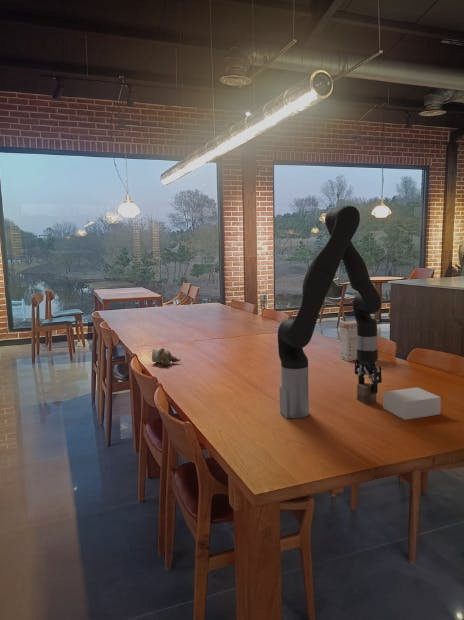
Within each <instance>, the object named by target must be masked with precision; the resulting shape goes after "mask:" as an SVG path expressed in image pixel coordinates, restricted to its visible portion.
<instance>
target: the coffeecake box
mask: <svg viewBox="0 0 464 620" xmlns="http://www.w3.org/2000/svg"><path fill="white" fill-rule="evenodd" d="M339 323H340V324H339V330H340V331H339V332H340V333H339V335H340V339H339V340H340V342H339V343H340V359H341V358H342V359H344V360H343V361H345V360H346V362H347V361H348V362H353V360H355V359H357V322H356V319H355V320H344V321H340V322H339ZM342 359H341V360H342Z"/></svg>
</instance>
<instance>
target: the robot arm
mask: <svg viewBox="0 0 464 620" xmlns="http://www.w3.org/2000/svg"><path fill="white" fill-rule="evenodd" d="M360 221H361V215H360V211H359V210H358V209H357V207H355V206H353V205H344V206H337V207H332V208H331V209H329V210H328V211H327V212H326V214H325V218H324V222H325V226H326V229H327V231H328V234H329V235H330V237H329V239H328V241H327V242H326V243H325V245H324V246H323V248H322V249H321V250H320V251H319V252H318V253H316V256H314V258H313V259H312V261H311V262H310V264H309V266H308V268H307V271H306V273H305V276H304V277H303V283H302V294H301V295H302V298H301V299H302V300H301V304H300V307H299V309H298V312H297V314H296V317H295V318H287V319H284V320H283V321H282V322H281V323H280V324H279V326H278V330H277V345H278V346H277V348H278V357H279V360H280V369H281V372H280V373H281V375H280V377H281V386H279V413H280V414H281V415H282V416H283V417H285V419H303V418H306V417H308V416H309V414H310V405H309V404H310V403H309V401H310V400H309V398H310V397H309V396H310V395H309V393H310V392H309V390H310V389H309V359H308V356H307V355H306V353H305V351H304V349H303V348H305V347H306V346H308V345H309V343H310V342H311V340H312V337H313V335H314V332H315V328H316V325H317V321H318V318H319V315H320V312H321V310H322V307H323V305H324V302H325V300H326V297H327V294H328V292H329V291H330V288H331V286H332V284H333V281H334V280H335V276H336V274H337V271H338V269H339V267H340V264H341V263H343V265H344V268H345V271H346V275H347V277H348V281H349V284H350V286H351V288H352V289H353V290H355V291H357V292H358V293H357V294H355V296H354V297H353V298H352V299H353V300H352V310H353V314H354V319H355V320H356V322H357V359H355V361H354V374H355V375H356V377H357V379H358V383H357V384H365V383H366V382H365V380H366V379H365V375H366V376H367V379H369V381H370V384H371V393H372V394H376V393H377V394H378V391H379V390H378V384H382V383H383V382H382V381H383V380H382V377H383V376H382V367H381V366H377V365H376V361H379V341H378V322H377V321H376V319H374V318H372V317H371V314H376V313H378V312H379V311H380V310H381V306H382V299H381V296H380V294H379V292H378V290H377V289H376V287H375V285H374V283H373V282H372V280H371V277H370V275H369V272H368V268H367V265H366V262H365V260H364V258H363V257H362V256H361V254H360V253H359V251H358V250H357V248H356V247H355V245H354V244H353V242H352V239H353V237H354V236H355V233H356V231H357V230H358V228H359V226H360ZM377 394H376V395H377Z"/></svg>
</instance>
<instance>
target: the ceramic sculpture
mask: <svg viewBox="0 0 464 620" xmlns="http://www.w3.org/2000/svg"><path fill="white" fill-rule="evenodd" d="M151 361H152V363H153V362H159V363H158V364H160V363H161V364H160V365H162V366H164V365H166V366H169V364H170V363H177V362H180V361H181V359H179V358H177V357H176V356H173V354H172V353H171V352H170V351H168V350H165V348H160V349H158V350H157V349H154V348H153V349H152V355H151ZM171 361H172V362H171ZM168 363H169V364H168Z"/></svg>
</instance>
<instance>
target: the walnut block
mask: <svg viewBox="0 0 464 620" xmlns="http://www.w3.org/2000/svg"><path fill="white" fill-rule="evenodd" d="M371 384H372V383H371V382H370V383H369V382H367V383H366V382H365V384H358V383H357V384H356V396H357V397H356V400H357V401H359V402H360V403H362V404H364V405H366V404H367V405H368V404H373V403H377V394H378V392H377V393H376V394H372V393H371Z"/></svg>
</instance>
